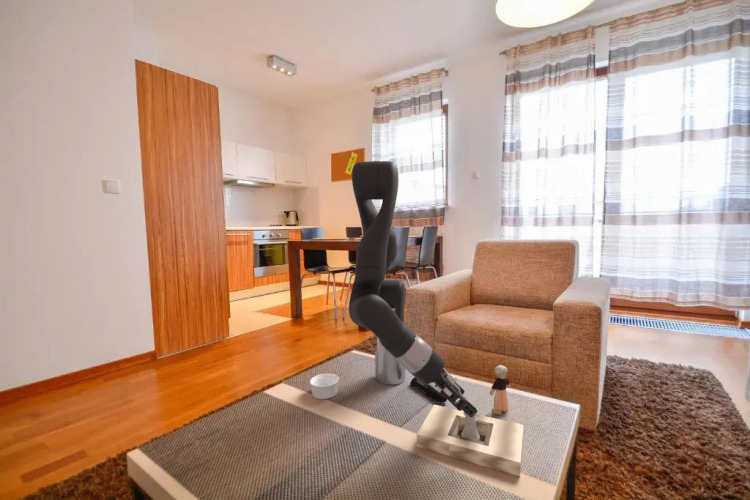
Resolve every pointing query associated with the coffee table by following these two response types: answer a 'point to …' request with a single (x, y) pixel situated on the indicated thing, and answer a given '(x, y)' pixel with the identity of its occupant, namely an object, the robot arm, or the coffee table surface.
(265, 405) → the coffee table surface
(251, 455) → the coffee table surface
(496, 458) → the socket board
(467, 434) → the rook chess piece
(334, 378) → the ramekin
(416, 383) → the electric trimmer
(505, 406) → the grandmother figurine
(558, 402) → the coffee table surface
